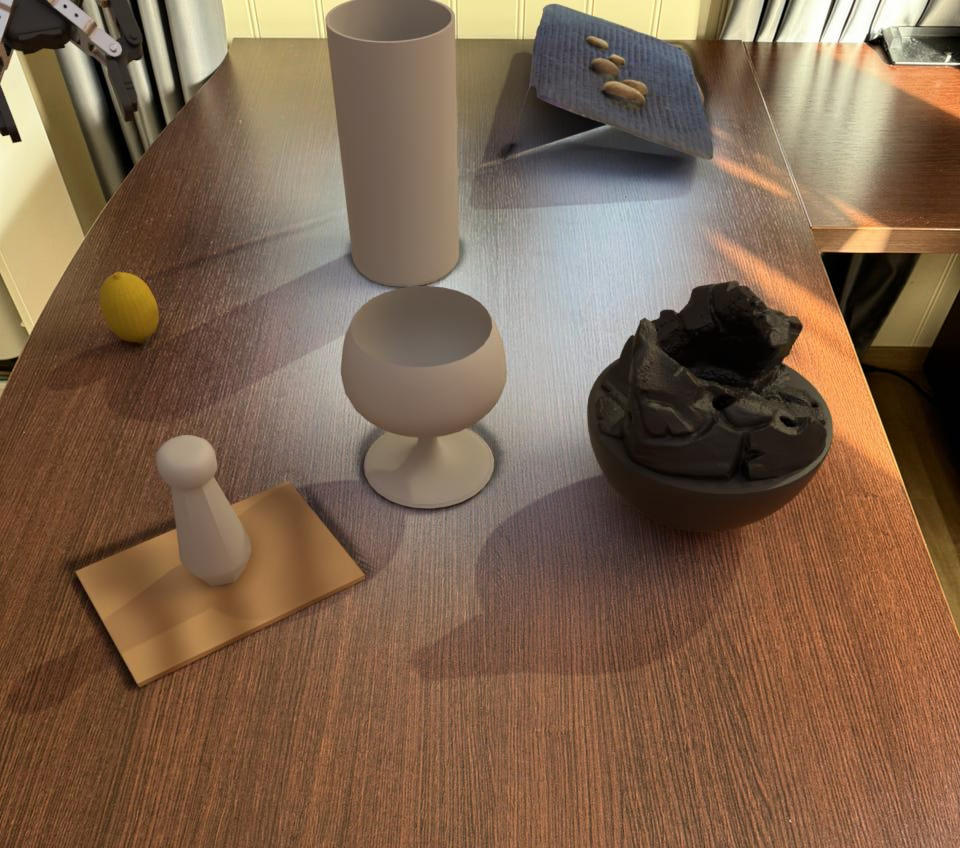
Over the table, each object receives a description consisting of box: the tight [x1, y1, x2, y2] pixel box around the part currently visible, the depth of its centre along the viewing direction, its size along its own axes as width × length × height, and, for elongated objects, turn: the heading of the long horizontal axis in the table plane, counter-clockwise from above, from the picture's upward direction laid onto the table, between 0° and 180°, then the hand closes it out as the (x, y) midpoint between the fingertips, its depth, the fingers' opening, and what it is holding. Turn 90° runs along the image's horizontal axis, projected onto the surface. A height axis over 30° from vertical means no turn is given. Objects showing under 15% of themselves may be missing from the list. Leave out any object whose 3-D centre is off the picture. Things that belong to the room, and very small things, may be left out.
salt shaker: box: [155, 434, 251, 587], centre depth 73 cm, size 6×6×13 cm
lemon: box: [98, 271, 160, 344], centre depth 96 cm, size 6×6×8 cm
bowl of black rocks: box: [586, 280, 834, 533], centre depth 77 cm, size 20×20×19 cm
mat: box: [502, 3, 714, 163], centre depth 134 cm, size 45×27×12 cm, turn 177°
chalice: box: [340, 285, 508, 509], centre depth 81 cm, size 14×14×15 cm
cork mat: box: [75, 480, 366, 688], centre depth 78 cm, size 20×14×1 cm
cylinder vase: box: [324, 0, 460, 288], centre depth 99 cm, size 12×12×25 cm
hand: (73, 127), depth 71 cm, fingers open, 8 cm apart
